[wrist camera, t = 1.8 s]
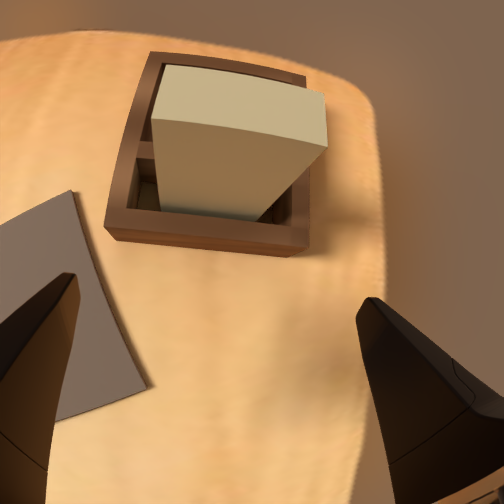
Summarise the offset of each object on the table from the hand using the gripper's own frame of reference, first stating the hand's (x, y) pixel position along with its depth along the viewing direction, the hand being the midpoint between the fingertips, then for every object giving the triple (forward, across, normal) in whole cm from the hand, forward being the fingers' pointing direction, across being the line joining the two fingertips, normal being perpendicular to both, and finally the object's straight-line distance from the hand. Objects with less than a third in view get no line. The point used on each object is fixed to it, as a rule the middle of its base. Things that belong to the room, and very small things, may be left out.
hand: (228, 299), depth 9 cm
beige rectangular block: (+14, 0, +4) cm, 14 cm away
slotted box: (+16, 0, +1) cm, 17 cm away
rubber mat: (+7, +13, +11) cm, 19 cm away
